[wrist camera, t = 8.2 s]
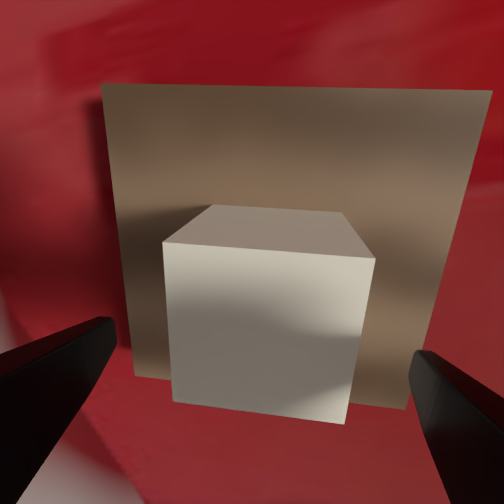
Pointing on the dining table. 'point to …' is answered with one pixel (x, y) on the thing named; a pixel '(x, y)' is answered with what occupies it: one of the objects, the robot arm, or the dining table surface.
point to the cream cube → (266, 310)
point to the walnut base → (297, 193)
